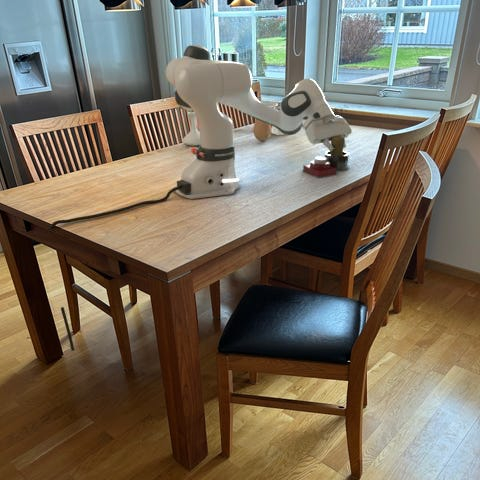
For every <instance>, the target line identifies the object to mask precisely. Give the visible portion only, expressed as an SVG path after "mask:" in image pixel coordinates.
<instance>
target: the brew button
mask: <svg viewBox="0 0 480 480" xmlns="http://www.w3.org/2000/svg"><path fill="white" fill-rule="evenodd" d="M313 160H314V163H316V164H325V163H326V158H325V156H316V157H314V159H313Z"/></svg>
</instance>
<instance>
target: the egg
mask: <svg viewBox="0 0 480 480" xmlns="http://www.w3.org/2000/svg"><path fill="white" fill-rule="evenodd" d="M271 134H272V128H271V125H270V124H267V123H265V122H262V121H260V120H258V119H255V121H254V123H253V136H254V137H255V139H256V140H257V141H259V142H266V141H267V140H268V139H269V138H270V137H271Z"/></svg>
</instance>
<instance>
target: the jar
mask: <svg viewBox="0 0 480 480" xmlns="http://www.w3.org/2000/svg"><path fill="white" fill-rule="evenodd" d="M280 106H281V105H280ZM280 106H279V105H277V107H274V109H277V110H280ZM271 134H273V135H276V136H287V135H286V134H284V133H282V132H281V131H279V130H278V129H277V128H276V127H274V126H272V128H271Z"/></svg>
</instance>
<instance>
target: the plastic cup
mask: <svg viewBox="0 0 480 480" xmlns="http://www.w3.org/2000/svg"><path fill="white" fill-rule="evenodd" d="M259 101H260V100H259ZM260 102H261V103H263V104H265V105H267V106H270V107H272V108H274V107H277V106H279V103H278V102H276V101H271V100H262V101H260ZM271 129H272V125H271Z"/></svg>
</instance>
